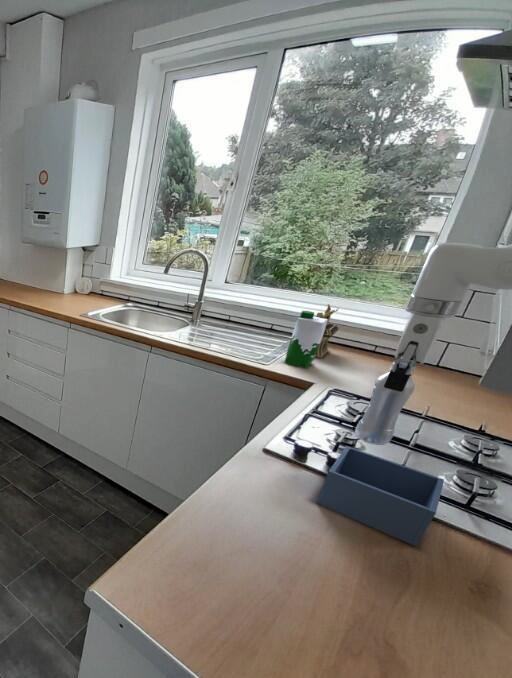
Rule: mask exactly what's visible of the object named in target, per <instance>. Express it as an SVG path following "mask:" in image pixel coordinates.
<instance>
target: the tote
mask: <svg viewBox="0 0 512 678" xmlns="http://www.w3.org/2000/svg"><path fill="white" fill-rule="evenodd" d="M444 483H445V478H441V477H439V476H435V475H433V474H430V473H427V472H424V471H421V470H418V469H415V468H412V467H409V466H407V465H404V464H400V463H398V462H395V461H391V460H389V459H386V458H383V457H380V456H377V455H375V454H371V453H369V452H366V451H362V450H361V449H357V448H354V447H351V446H348V445H346V446H345V447H344V449H343V450H342V452H341V453H340V455H339V456H338V457H337V459H336V460H335V462H333V464H332V466H331V467H330V468H329V471H328V473H327V474H326V476H325V479H324V482H323V484H322V486H321V489H320V491H319V493H318V496H317V498H316V500H315V503H316V504H318V505H321V506H323V507H325V508H328V509H330V510H332V511H334V512H336V513H339V514H340V515H343V516H345V517H348V518H350V519H353V520H354V521H357V522H359V523H361V524H364V525H366V526H368V527H371V528H373V529H375V530H377V531H380V532H382V533H384V534H386V535H389V536H391V537H393V538H395V539H398V540H400V541H402V542H405V543H407V544H409V545H411V546H414V547H417V546H418V544H419V542H420V541H421V539H422V538H423V536H424V534H425V533H426V531H427V529H428V527H429V526H430V524H431V522H432V520H433V519H434V517H435V516H436V514H437V511H438V506H439V501H440V498H441V495H442V490H443V486H444Z"/></svg>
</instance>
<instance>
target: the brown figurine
mask: <svg viewBox="0 0 512 678" xmlns="http://www.w3.org/2000/svg"><path fill="white" fill-rule="evenodd" d="M339 309H340V307H338V308H337V309H336V310H335V309H332V308H331V305H330V304H329V303H327V307H326V309H325V310H324V313H323V312H320V311H319V312H317V313H316V316H315V317H319V318H323V319H328V320H327V324H326V327H325V331H324V334H323V337H322V340H321V342H320V345H319V348H318V351H317V353H316V355H315V357H314V358H323V356H324V355H326V354H327V352H328V351H329V348H328V343H329V341H330V339H331V338H332V337H333V336H334V335H335V334H336V333H337V332H338V331H339V329H340V327H338V325H336V324H335V323H330V319H331V317H332V315H333V314H334V313H336V312H338V311H339Z"/></svg>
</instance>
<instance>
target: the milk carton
mask: <svg viewBox="0 0 512 678" xmlns="http://www.w3.org/2000/svg"><path fill="white" fill-rule="evenodd" d="M314 315H315V312H313V311H309V310H302V311H301V312H300V314H299V316H298V318H297V320H296V321H295V322H296V323H295V326H294V328H293V331H292V335H291V338H290V341H289V344H288V347H287V350H286V355H285V360H284V363H285V364H289V365H292V366H297V367H300V368H304V369H306V368H308V367H309V366H310V365H311V364H312V362H313V360H314V359H315V358H316V357H315V355H316V353H317V351H318V348H319V345H320V342H321V340H322V337H323V334H324V331H325V327H326V324H327V320H328V319H323V318H319V317H316V316H314Z"/></svg>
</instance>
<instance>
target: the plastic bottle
mask: <svg viewBox="0 0 512 678" xmlns="http://www.w3.org/2000/svg"><path fill="white" fill-rule="evenodd" d="M396 361H397V360H394V361H393V362H392V364H391V366H390V367H389V370H390V371H391V370H393V367H394V365H395V363H396ZM408 364H409V366H410V363H408ZM416 368H417V365H416V364H415V365H413V367H412V369H411V371H410V373H409V374H410V375H411V374H412V375H414V373H415V370H416ZM407 370H408V369H407ZM390 371H388V372H386V373H384V374H382V375H380V376H379V377H377V379H376V380H375V382H374V386H373V389H372V393H371V398H370V401H369V404H368V408H367V409H366V411H365V413H364V414H363V416H362V418H361V419H360V420H359V421H358V423H357V424H356V426H355V430H354V433H355V436H356V437H357V439H359V441H360V440H361V442H365V443H368V444H370V445H376V446H384V445H387V444H389V443H390V441H391V440H392V439H393V437H394V433H395V426H396V425H397V421H398V418H399V416H400V413H401V411H402V409H403V408H404V406H405V404H406V403H407V402H408V400H409V399H410V397H411V396H412V394H413V392H414V391H415V384H414V381H413V379H412V375H411V376H410V377H409V379H408V381H407V384H406V386H405V388H404V390H403V391H402V392H399V391H395V390H392V389H388V388H385V387H384V384H385V382H386V380H387V378H388V375H389V373H390Z"/></svg>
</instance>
